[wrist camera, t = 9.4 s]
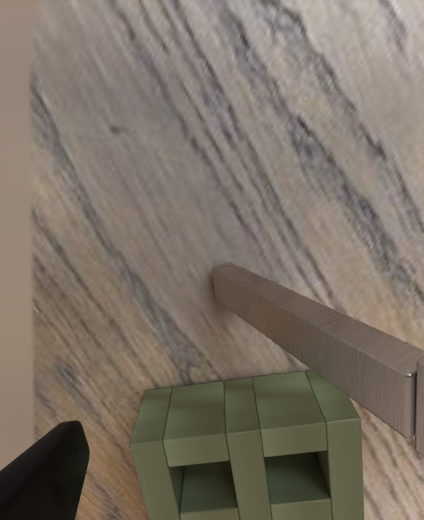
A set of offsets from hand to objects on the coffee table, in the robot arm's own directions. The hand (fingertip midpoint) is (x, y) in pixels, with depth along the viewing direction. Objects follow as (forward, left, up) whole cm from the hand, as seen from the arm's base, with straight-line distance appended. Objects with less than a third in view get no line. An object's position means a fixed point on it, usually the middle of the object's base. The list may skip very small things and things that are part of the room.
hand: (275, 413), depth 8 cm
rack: (-1, -12, -8) cm, 14 cm away
